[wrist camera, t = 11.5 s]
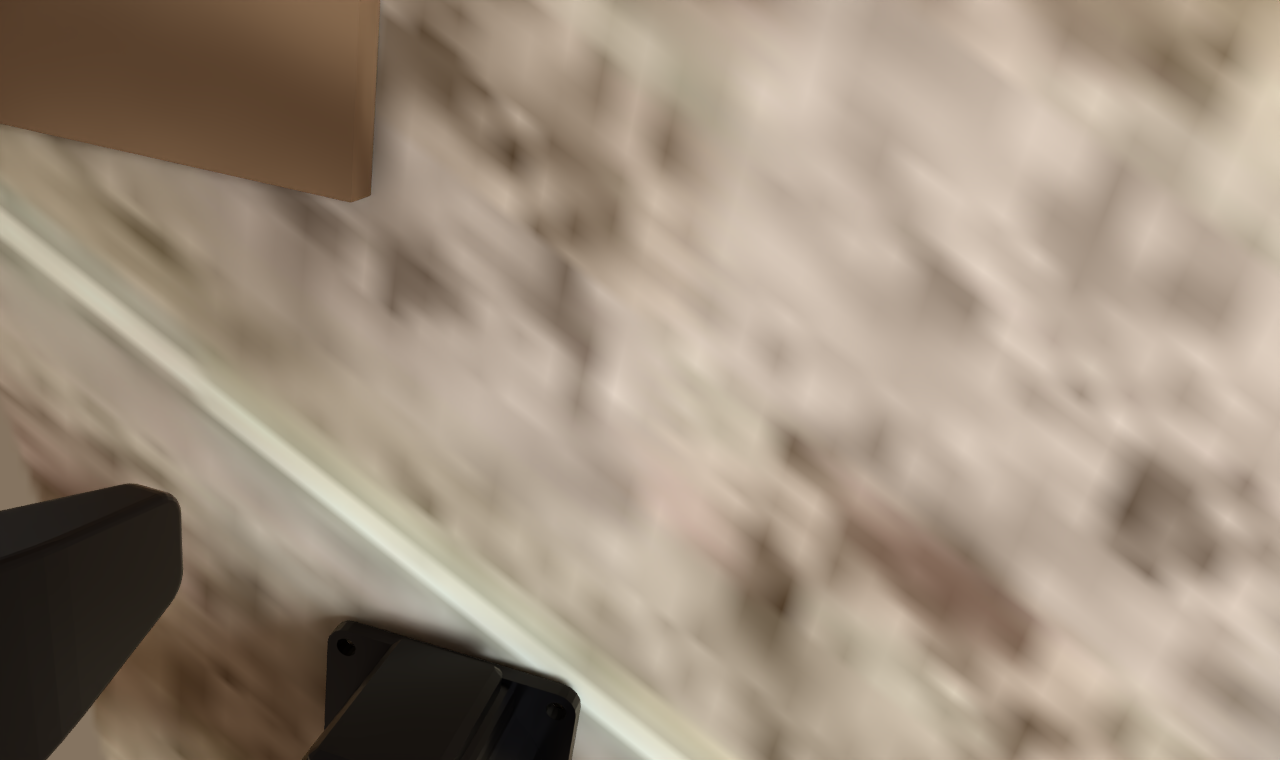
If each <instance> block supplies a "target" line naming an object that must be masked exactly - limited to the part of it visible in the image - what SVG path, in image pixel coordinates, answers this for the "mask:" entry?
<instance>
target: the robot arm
mask: <svg viewBox="0 0 1280 760" xmlns="http://www.w3.org/2000/svg"><path fill="white" fill-rule="evenodd" d="M182 575H183V556H182V526H181V508H180V505H179V503H178V501H177V499H176V498H175V497H174V496H173V495H171V494H170V493H167V492H163V491H160V490H157V489H153V488H150V487H146V486H143V485H139V484H130V483H129V484H123V485H118V486H113V487H109V488H104V489H99V490H95V491H90V492H86V493H81V494H76V495H72V496H67V497H62V498H58V499H53V500H49V501H44V502H39V503H35V504H30V505H25V506H21V507H16V508H12V509H7V510H2V511H0V760H46V759H47V758H48V757H49V756H50V755H51V754H52V753H53V751H54V750H55V749H56V748H57V747H58V746H59V745H60V744H61V743H62V741H63V740H64V739H65V738H66V737H67V735H68V734H69V733H70V732H71V730H72V729H73V728H74V727H75V726H76V724H77V723H78V722H79V721H80V719H81V718H82V717H83V716H84V714H85V713H86V712H87V711H88V709H89V708H90V707H91V706H92V704H93V703H94V702H95V700H96V699H97V698H98V697H99V695H100V694H101V693H102V691H103V690H104V689H105V687H106V686H107V685H108V684H109V682H110V681H111V680H112V678H113V677H114V676H115V675H116V673H117V672H118V671H119V669H120V668H121V667H122V666H123V664H124V663H125V662H126V660H127V659H128V658H129V657H130V655H131V654H132V653H133V651H134V650H135V649H136V647H137V646H138V645H139V644H140V642H141V641H142V640H143V638H144V637H145V636H146V635H147V633H148V632H149V631H150V629H151V628H152V627H153V626H154V624H155V623H156V622H157V620H158V619H159V618H160V617H161V615H162V614H163V613H164V611H165V610H166V609H167V607H168V606H169V605H170V604H171V602H172V601H173V599H174V598H175V596H176V594H177V592H178V590H179V587H180V584H181V580H182ZM346 639H348V640H350V641H351V642H352V643H353V644H354V645H355V646H353V645H351V644H349V643H348V641H347V640H346ZM553 703H558V704H560V705H562V706H563V707H564V709H559V708H557V707H556V706H554V704H553ZM580 708H581V704H580V698H579V696H578V695H577V693H576V692H575V691H574V690H573V689H572V688H570V687H568V686H566V685H564V684H561V683H557V682H554V681H551V680H548V679H544V678H541V677H538V676H534V675H531V674H528V673H524V672H521V671H518V670H514V669H511V668H508V667H504V666H501V665H498V664H494V663H491V662H488V661H484V660H481V659H478V658H474V657H471V656H468V655H464V654H461V653H458V652H454V651H451V650H448V649H444V648H441V647H438V646H434V645H431V644H428V643H424V642H421V641H418V640H414V639H411V638H408V637H404V636H401V635H398V634H394V633H391V632H388V631H385V630H381V629H378V628H375V627H371V626H368V625H365V624H361V623H358V622H354V621H346V622H342V623H341V624H340V625H339V626H338V627H337V628H336V629H335V630H334V631H333V632H332V634H331V635H330V636H329V639H328V650H327V675H326V701H325V727H324V732H323V733H322V734H321V736H320V737H319V738H318V739H317V741H316V742H315V743H314V744H313V746H312V747H311V748H310V750H309V751H308V752H307V753H306V755H305V756H304V757H303V759H302V760H572V754H573V748H574V743H575V737H576V731H577V725H578V719H579V713H580Z"/></svg>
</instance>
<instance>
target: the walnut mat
mask: <svg viewBox="0 0 1280 760" xmlns="http://www.w3.org/2000/svg"><path fill="white" fill-rule="evenodd" d="M379 14H380V0H0V123H1V124H5V125H10V126H14V127H19V128H23V129H27V130H32V131H36V132H41V133H45V134H50V135H54V136H58V137H63V138H67V139H72V140H76V141H81V142H85V143H89V144H94V145H98V146H103V147H107V148H112V149H116V150H121V151H125V152H129V153H134V154H138V155H143V156H147V157H152V158H156V159H160V160H165V161H169V162H174V163H178V164H183V165H187V166H191V167H196V168H200V169H205V170H209V171H214V172H218V173H223V174H227V175H231V176H236V177H240V178H245V179H249V180H254V181H258V182H262V183H267V184H271V185H276V186H280V187H285V188H289V189H293V190H298V191H302V192H307V193H311V194H316V195H320V196H325V197H329V198H333V199H338V200H342V201H347V202H354V201H357V200H359V199H362V198H365V197H368V196H370V195H371V177H372V157H373V136H374V116H375V96H376V75H377V55H378V35H379Z"/></svg>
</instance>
